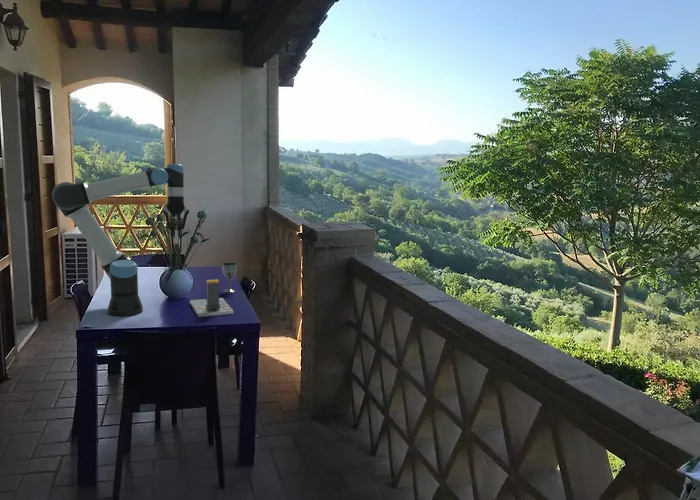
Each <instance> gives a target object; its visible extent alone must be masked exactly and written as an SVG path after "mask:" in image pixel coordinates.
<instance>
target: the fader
mask: <svg viewBox="0 0 700 500" xmlns="http://www.w3.org/2000/svg"><path fill="white" fill-rule="evenodd" d="M219 283H220V280H219V279H218V278H217V279H206V299H207V305H206V308H207V309H214V308H221V306H220V305H219V298H220V294H219V293H220V291H219V289H220V288H219V287H220V286H219V285H220V284H219Z"/></svg>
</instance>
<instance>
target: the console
mask: <svg viewBox="0 0 700 500" xmlns="http://www.w3.org/2000/svg"><path fill="white" fill-rule="evenodd" d="M189 304H190V306H191V308H192V310H193V311H194V312H195V314H196V316H197V318H202V317H203V318H204V317H214V316H215V317H216V316H225V315H226V316H229V315H234V309H232V307H231V306H230V305H229V304H228V302H227V301H226V300H225V299H224V298H223V297H219V305H220V306H221V308H214V309H207V308H206V305H207V298H205V299H204V298H202V299H190V300H189Z"/></svg>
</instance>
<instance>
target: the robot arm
mask: <svg viewBox="0 0 700 500" xmlns="http://www.w3.org/2000/svg"><path fill="white" fill-rule="evenodd" d="M184 174H185V173H184V165H182V164H180V163H168V164H167V167H154V166H153V167H152V166H151V167H150V166H148V167H142V168H141V171H139V172H135V173H134V172H133V173H131V174H125V175H121V176H116V177H112V178H107V179H104V180H103V179H102V180H99V181H95V182H90V183H87V182H86V183H85V182H79V183H72V182H69V181H62V182H61V183H58V184H56V185H55V186H54V188H53V189H52V192H51V198H52V202H53V203H54V205H55V206H56V207H57V208H59V209H58V210H59V211H60V212H61V213H62V214H63V215H64V217H66V218H69V219H71V221H72V222H73V224H75V226H76V227H77V229H78V231H79V232H80V233H81V234H82V236H83V238H84V239H85V240H86V242H87V243H88V244H89V246H90V248H91V249H92V251H94V253H95V254H96V256H97V257H98V258H99V260H100V267H101V268H102V270H103V272H105V274H106V276H108V278H109V280H110V300H109V302H108V306H107V315H109V314H110V316H113V317H128V316H135V315H138V314H141V313H143V311H144V309H143V308H144V307H143V303H142V301H141V299H140V296H139V282H138V281H139V276H138V275H139V274H138V272H139V271H138V270H139V268H138V264H137V263H136V262H135V261H133V260H129V259H128V257H127V256H126V255H125V253H124V252H123V251H120V250H118V249H117V247H116V246H115V245H114V243H113V242H112V240H111V239H110V238H109V236H108V235H107V234H106V232H105V231H104V229H103V228H102V226H101V225H100V223H99V222H98V221H97V219H96V218H95V216H94V215H93V214H92V212H91V210H90V209H89V205H90V204H91V203H92V202H93V201H97V200H101V199H105V198H109V197H114V196H118V195H122V194H126V193H130V192H135V191H139V190H141V189H147V188H152V187H156V186H163V185H165V184H167V195H168V196H167V206H166V208H164V209H162V213H163V214H164V217H165V218H164V219H165V220H166V225H167V228H168V229H169V230H171V236H172V238H174V244H176V245H178V244H179V238H180V237H181V230H184V229H185V226H186V221H187V217H188V215H189V213H190V210H189V209H187V208H186V207H185V197H184V195H185V189H184V183H185V182H184V178H185V175H184ZM168 213H169V214H171V218H172V217H175V218H176V221H177V220H180V221H179V222H180V224H178V226H177V225H175V226H172V224H171V221H170V217H169V215H168ZM182 213H183V217H182V221H183V222H181V215H182ZM176 226H177V227H176Z"/></svg>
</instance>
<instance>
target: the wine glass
mask: <svg viewBox="0 0 700 500" xmlns="http://www.w3.org/2000/svg"><path fill="white" fill-rule="evenodd" d="M221 268H222V273H223V276H225V278H226V279H227V281H228V285H229V286H228V289H227V288H226V289H223V290H222V291H223V292H225V293H235V292H237V289H235V288H231V286H232V285H231V284H232V280H233V278H234V277H235V276H236V274H237V271H238V262H232V261H230V262H223V263H222V264H221Z"/></svg>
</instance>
